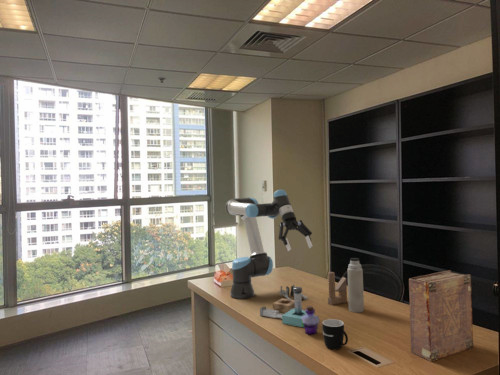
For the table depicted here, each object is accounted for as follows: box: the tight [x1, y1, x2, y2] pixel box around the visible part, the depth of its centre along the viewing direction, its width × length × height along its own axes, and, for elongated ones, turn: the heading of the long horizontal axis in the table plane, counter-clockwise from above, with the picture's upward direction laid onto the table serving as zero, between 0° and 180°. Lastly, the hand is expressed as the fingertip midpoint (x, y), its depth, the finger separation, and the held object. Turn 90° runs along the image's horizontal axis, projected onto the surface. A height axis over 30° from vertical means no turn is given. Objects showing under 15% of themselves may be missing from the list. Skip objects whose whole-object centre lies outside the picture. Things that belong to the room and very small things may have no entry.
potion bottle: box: [302, 305, 320, 336], centre depth 175 cm, size 9×9×12 cm
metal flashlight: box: [293, 286, 303, 316], centre depth 189 cm, size 4×4×17 cm
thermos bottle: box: [347, 257, 365, 313], centre depth 203 cm, size 8×8×28 cm
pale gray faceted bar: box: [259, 306, 284, 320], centre depth 197 cm, size 14×4×4 cm, turn 57°
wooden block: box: [327, 271, 348, 306], centre depth 216 cm, size 4×11×18 cm, turn 111°
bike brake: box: [278, 283, 308, 301], centre depth 226 cm, size 14×7×20 cm
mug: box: [321, 318, 349, 350], centre depth 158 cm, size 12×9×10 cm
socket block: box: [281, 308, 315, 328], centre depth 189 cm, size 12×12×4 cm
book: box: [408, 269, 474, 362], centre depth 152 cm, size 25×9×30 cm, turn 116°
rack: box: [272, 297, 295, 314], centre depth 205 cm, size 10×10×5 cm
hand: (300, 248), depth 201 cm, fingers open, 13 cm apart
